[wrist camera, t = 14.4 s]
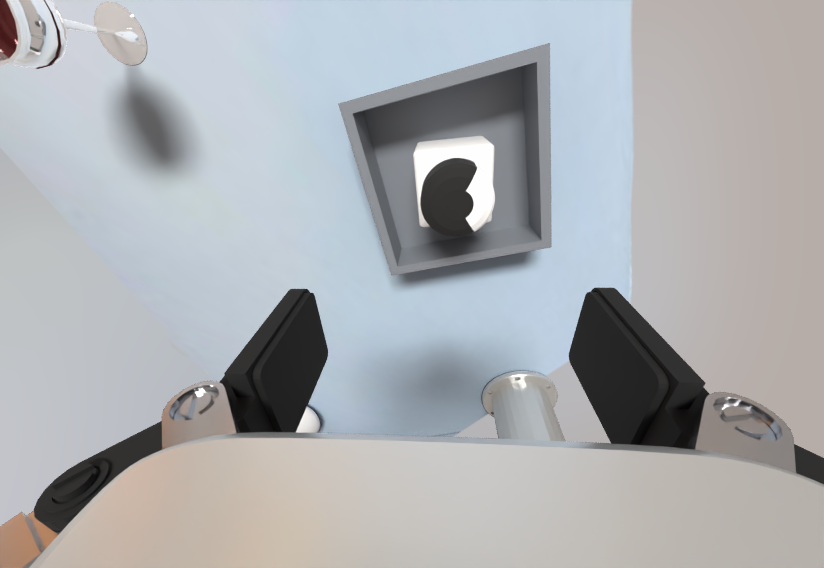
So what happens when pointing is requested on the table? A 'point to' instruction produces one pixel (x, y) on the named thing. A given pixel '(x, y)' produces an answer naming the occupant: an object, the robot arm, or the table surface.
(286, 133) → the table surface
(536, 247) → the bin
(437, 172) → the medicine bottle
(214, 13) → the table surface
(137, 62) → the wineglass
